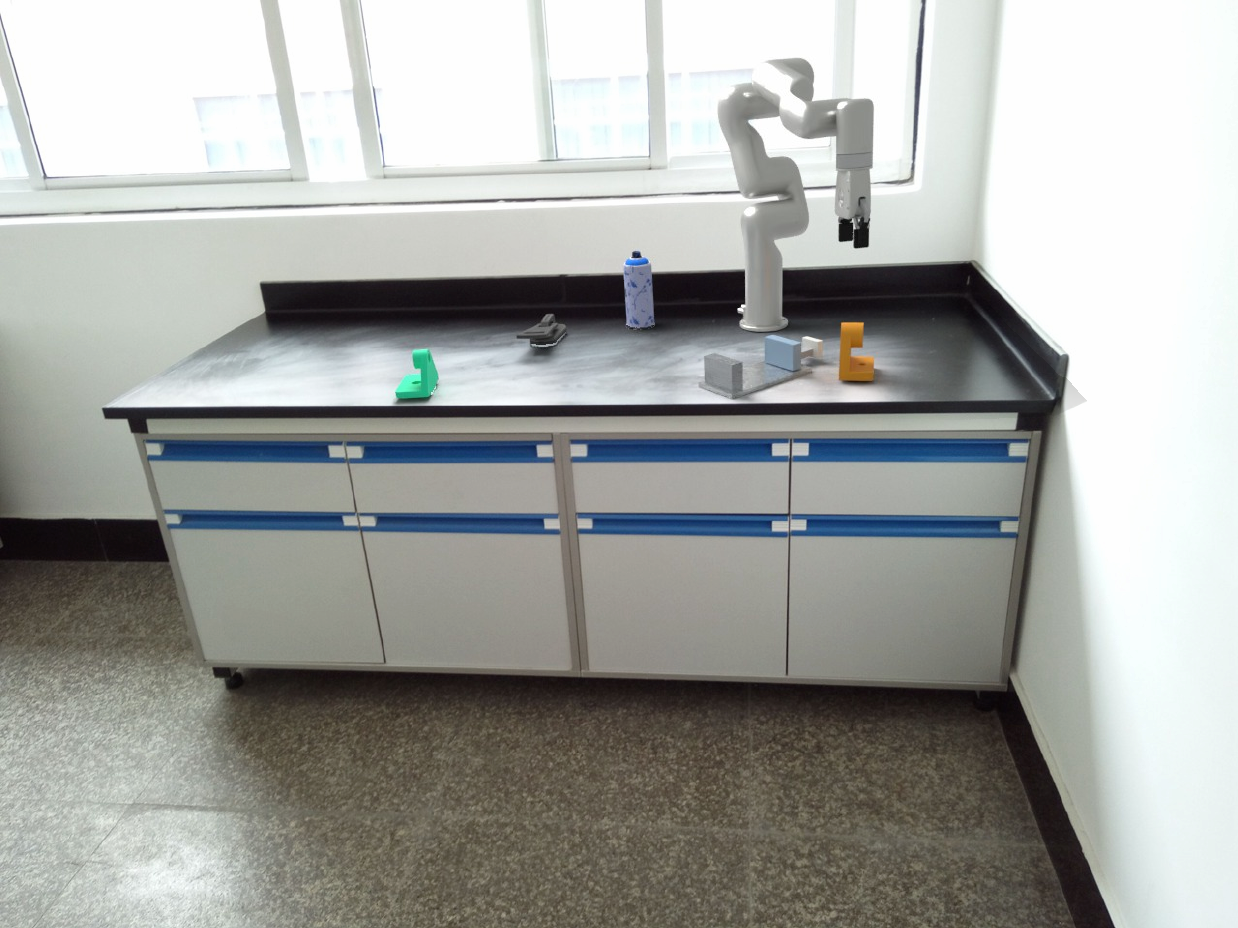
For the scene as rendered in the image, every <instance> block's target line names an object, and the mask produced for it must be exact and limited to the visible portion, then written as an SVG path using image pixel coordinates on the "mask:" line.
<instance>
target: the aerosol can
mask: <svg viewBox="0 0 1238 928" xmlns="http://www.w3.org/2000/svg"><path fill="white" fill-rule="evenodd" d="M622 267H623V268H622V270H623V280H624V281H623V282H624V298H625V299H624V302H625V315H626V324H625V326H626V325H628V326H630V327H635V328H636V327H637V328H640V327H648V326H651V325H654V326H655V325H656V323H655V318H654V317H655V316H654V315H655V314H654V313H655V312H654V296H653V295H654V294H653V277H652V275H653V274H652V264H651V261H650V260H649V259H648V258H646V257H645V256H643V255H642V253H641V251H639V250H634V251H632V252H631V256H630V257H628V258H627V259H626V260H625V261H624V263H623V266H622Z"/></svg>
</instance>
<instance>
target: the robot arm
mask: <svg viewBox="0 0 1238 928" xmlns="http://www.w3.org/2000/svg"><path fill="white" fill-rule="evenodd" d="M814 82H815V72H814V69H813V67H812V65H811V63H810V62H809V61H808V60H807V59H805V58H802V57H788V58H776V59H775V58H774V59H769V60H766V61H765V60H764V61H763V62H761V63H759V65H757V66H756V67H755V69H753V73H752V75H751V82H744V83H737V84H735V85H731V86H729V87H726V88H725V89H724V90H723V91H722V92H721V93H720V96H719V98H718V101H717V120H718V124H719V127H720V130H721V133H722V134H723V136H724V139H725V141H726V143H727V145H728V149H729V152H730V156H731V161H732V166H733V170H734V174H735V178H736V184H737V187H738V190H739V192H740V195H741V196H742V197H743V198H744V199H748V200H755V199H763V198H772V197H777V198H778V199H777V200H770V201H769V200H768V201H763V202H761V201H760V202H757V203H754V204H751V205H749V206H747V207H746V208H745V209H744V210H743V211H742V214H741V217H740V227H741V228H740V229H741V234H742V238H743V245H744V246H743V248H744V271H745V272H744V277H745V279H744V284H745V285H744V287H745V295H744V296H745V297H744V299H745V303H744V304H741V306H740V307H739V308H737V313H738V314H741V315H742V318H741V320H739V328H741V329H743V330H745V331H750V332H757V333H758V332H759V333H760V332H761V333H764V332H775V331H780V330H782V329H785V328H787V326H788V325H789V320H788V318H786V317H784V316H783V256H782V253H781V251H780V249H779V248H778V246H777V244H776V243H775V241H777V240H780V239H781V240H783V239H788V238H794V237H798V236H800V235H803V234H804V233H805V232H806V231H807V229H808V226H809V222H810V213H809V208H808V203H807V199H806V194H805V188H804V184H803V179H802V176H801V173H800V170H799V169H800V168H799V167H798V165H797V163H796V162H795V160H793V158H791V157H789V156H785V155H783V156H782V155H781V156H771V157H769V156H768V154H767V152H766V148H765V142H764V139H763V137H762V136H761V134H760V133H759V132H758V130H757V129H756V128H755V127H754V126H753V125H752V124H750V123H749V121H751V120H760V119H761V120H762V119H770V118H773V119H774V118H777V117H780V121H781V123H782V126H783V127H784V128H785V129H786V130H787V131H789V132H790V133H792V134H793V135H795V136H797V137H798V138H801V139H804V140H814V139H821V138H831V137H833V138H834V137H835V171H837V174H836V183H835V194H834V196H835V197H834V214H835V215H836V216H837V217H838V220H837V221H838V233H837V234H838V237H837V238H838V242H839V243H843V242H845V243H846V242H853V245H852V246H853V248H854V249H865V248H869V246H870V226H871V224H870V222H871V212H872V209H871V205H872V204H871V203H872V201H871V200H872V189H871V184H872V183H871V170H872V169H873V167H874V166H873V165H874V162H873V160H874V125H875V124H874V117H875V116H874V114H875V113H874V112H875V106H874V101H872V99H870V98H853V99H852V98H848V97H842V98H830V99H821V100H820V99H819V100H813V98H814V94H815V93H814V91H815V89H814Z"/></svg>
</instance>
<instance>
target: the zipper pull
mask: <svg viewBox="0 0 1238 928" xmlns="http://www.w3.org/2000/svg"><path fill="white" fill-rule="evenodd" d="M566 331H567V325H565V324H563V323H558V322H556V317H555V314H554V313H547V314H545V316H543V317H542V319H541V321H540V323H539V322H538V323H537V324H536V325H534V326H532V327H530V328H527V329H526V330H525V329H524V330H523V331H522V332H519V333H517V334H516V335H515V338H516V339H517V340H520V339H521V340H523V339H524V340H526V339H527V340H529V345H530V344H536V345H546V344H553V343H556V342H557V340H558V339H559V338H560V337H561V336H562V335H563V334H564V333H565V332H566Z"/></svg>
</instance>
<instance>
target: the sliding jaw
mask: <svg viewBox="0 0 1238 928" xmlns="http://www.w3.org/2000/svg"><path fill="white" fill-rule="evenodd" d="M823 345H824V340H822V339H818V338H815V337H811V336H803V337H802V338H801V342H800V341H796V340H793V339H789V338H785V337H783V336H778V335H775V334H771V335H767V336H764V361H765V362H766V363H769V364H772V365H775V366H778V367H781V368H784V369H788V370H791V371H795V370H798V369H801V364H802V360H803V359H805V358H809V357H810V358H814V359H818V360H819V359H822V358H823V350H824V349H823Z"/></svg>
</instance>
